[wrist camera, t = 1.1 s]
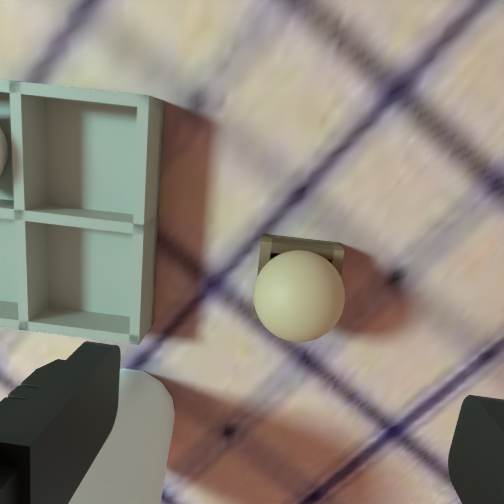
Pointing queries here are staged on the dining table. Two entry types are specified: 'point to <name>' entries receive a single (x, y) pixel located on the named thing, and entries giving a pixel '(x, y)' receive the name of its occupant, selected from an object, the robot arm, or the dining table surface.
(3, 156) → the cream egg
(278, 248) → the egg stand
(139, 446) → the foam cup
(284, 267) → the beige sphere
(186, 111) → the dining table surface
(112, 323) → the egg carton
